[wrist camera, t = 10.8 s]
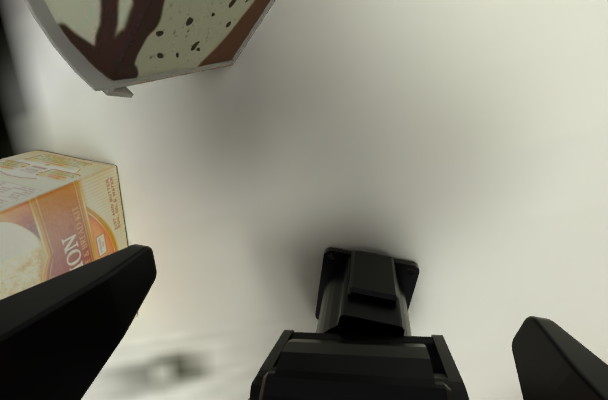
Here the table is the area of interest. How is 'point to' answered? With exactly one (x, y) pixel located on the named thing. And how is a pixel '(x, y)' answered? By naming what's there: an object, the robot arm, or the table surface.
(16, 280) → the coffeecake box
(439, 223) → the table surface
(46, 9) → the food container
